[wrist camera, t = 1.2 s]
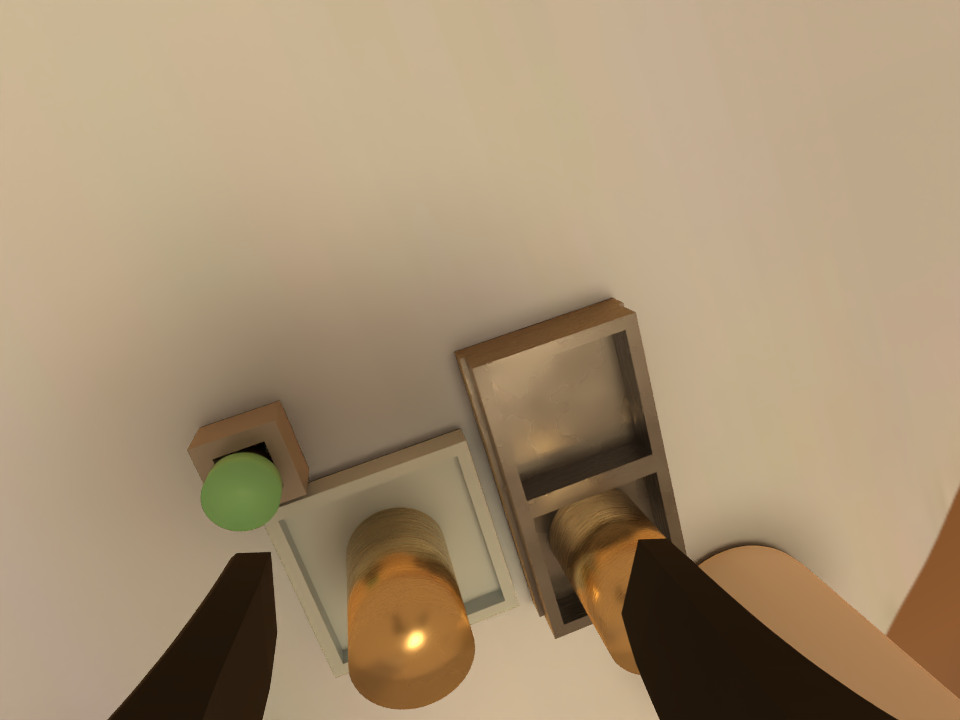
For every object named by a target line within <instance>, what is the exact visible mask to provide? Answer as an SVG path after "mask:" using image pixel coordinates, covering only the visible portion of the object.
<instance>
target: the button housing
mask: <svg viewBox="0 0 960 720" xmlns="http://www.w3.org/2000/svg"><path fill="white" fill-rule="evenodd" d="M261 442H265V444H266V446H267V449H268V451H269V453H270V455H271V458H272V460H273V462H274V465H275V466H276V468H277V469H278V470H279V472H280V475H281V477H282V483H283V488H282V494H281V500H280V504H281V503H284V502H287V501H289V500H292V499H295V498H298V497H301V496H303V495H306V494H307V487H308V477H309V468H308V466H307V463H306V461H305V459H304V456H303V454H302V452H301V449H300V447H299V445H298V442H297V440H296V437H295V435H294V433H293V430H292V428H291V426H290V423H289V421H288V418H287V416H286V414H285V411H284V409H283V407H282V404H281V402H280V401H277V402H274V403H271V404H269V405H266V406H263V407H260V408H257V409H254V410H251V411H248V412H245V413H242V414H239V415H236V416H233V417H230V418H227V419H224V420H221V421H218V422H215V423H213V424H210V425H207V426H204V427H201V428H199V430H198V431H197V433H196V435H195V437H194V439H193V440H192V442H191V444H190V446H189V448H188V449H187V451H188V453H189V455H190V457H191V459H192V461H193V463H194V465H195V467H196V469H197V471H198V473H199V475H200V477H201V480H202V482H203V484H204V483H205V480H206V478H207V476H208V473H209V472H210V470H211V468H212V467H213V466H214V465H215V464H216V463H217V462H218V461H219V460H221V459H222V458H224V457H226V456H229V455H231V454H230V453H232V452H235V451H238V450H241V449H244V448H247V447H250V446H252V445H255V444H258V443H261Z"/></svg>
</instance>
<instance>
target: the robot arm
mask: <svg viewBox="0 0 960 720" xmlns="http://www.w3.org/2000/svg"><path fill="white" fill-rule="evenodd" d="M621 615H622V618H623V622H624V625H625V629H626V633H627V636H628V640H629V643H630V646H631V650H632V653H633V656H634V659H635V662H636V665H637V668H638V670H639V672H640V675H641V677H642V680H643V682H644V684H645V687H646V689H647V691H648V694H649V696H650V698H651V701H652V703H653V705H654V708H655V710H656V712H657V714H658V717H659V719H660V720H898V719H896V718H895V717H893V716H891V715H890V714H888V713H886V712H885V711H883V710H881V709H880V708H878V707H877V706H875V705H874V704H872V703H871V702H869V701H867V700H866V699H864V698H863V697H861V696H860V695H858V694H857V693H855V692H854V691H852V690H851V689H849V688H848V687H847V686H845V685H844V684H842V683H841V682H839V681H838V680H837V679H835V678H834V677H832V676H831V675H829V674H828V673H827V672H825V671H824V670H822V669H821V668H819V667H818V666H817V665H815V664H814V663H813V662H811V661H810V660H809V659H807V658H806V657H805V656H803V655H802V654H801V653H799V652H798V651H797V650H796V649H794V648H793V647H792V646H791V645H789V644H788V643H787V642H785V641H784V640H783V639H782V638H780V637H779V636H778V635H777V634H775V633H774V632H773V631H772V630H770V629H769V628H768V627H767V626H766V625H764V624H763V623H762V622H761V621H760V620H758V619H757V618H756V617H755V616H754V615H752V614H751V613H750V612H749V611H748V610H747V609H745V608H744V607H743V606H742V605H741V604H740V603H739V602H737V601H736V600H735V599H734V598H733V597H732V596H731V595H729V594H728V593H727V592H726V591H725V590H724V589H723V588H722V587H720V586H719V585H718V584H717V583H716V582H715V581H714V580H713V579H712V578H710V577H709V576H708V575H707V574H706V573H705V572H704V571H703V570H702V569H701V568H699V567H698V566H697V565H696V564H695V563H694V562H693V561H692V560H691V559H690V558H688V557H687V556H686V555H685V554H684V553H683V552H682V551H681V550H680V549H678V548H677V547H676V546H675V545H674V544H673V543H672V542H670V541H669V540H668V539H667V538H663V539H638V543H637V548H636V552H635V556H634V561H633V565H632V569H631V574H630V578H629V582H628V587H627V591H626V595H625V600H624V604H623V608H622V613H621ZM276 638H277V624H276V611H275V598H274V586H273V573H272V561H271V552H260V553H236V554H235V555H234V556H233V557H232V558H231V559H230V560H229V562H228V564H227V565H226V567H225V569H224V570H223V572H222V573H221V575H220V576H219V578H218V580H217V581H216V583H215V584H214V586H213V587H212V589H211V590H210V592H209V593H208V595H207V596H206V597H205V599H204V600H203V602H202V603H201V605H200V606H199V607H198V609H197V610H196V612H195V613H194V614H193V616H192V617H191V619H190V620H189V621H188V623H187V624H186V625H185V627H184V628H183V629H182V631H181V632H180V633H179V635H178V636H177V637H176V639H175V640H174V641H173V643H172V644H171V645H170V647H169V648H168V649H167V650H166V652H165V653H164V654H163V655H162V657H161V658H160V659H159V660H158V662H157V663H156V664H155V665H154V666H153V668H152V669H151V670H150V671H149V672H148V674H147V675H146V676H145V677H144V678H143V680H142V681H141V682H140V683H139V684H138V686H137V687H136V688H135V689H134V690H133V692H132V693H131V694H130V695H129V696H128V697H127V699H126V700H125V701H124V702H123V703H122V704H121V705H120V706H119V708H118V709H117V710H116V711H115V712H114V713H113V714H112V715H111V716H110V718H109V719H108V720H262V719H263V715H264V711H265V706H266V702H267V698H268V694H269V689H270V683H271V676H272V669H273V661H274V654H275V646H276Z"/></svg>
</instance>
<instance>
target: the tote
mask: <svg viewBox="0 0 960 720" xmlns="http://www.w3.org/2000/svg"><path fill="white" fill-rule="evenodd" d="M398 507H404V508H412V509H416V510H419V511H421V512H423V513H425V514H427V515H429V516H430V517H431V518H432V519H434V520H435V521H436V523H437V524H438V525H439V526H440V528H441V530H442V532H443V534H444V537H445V541H446V544H447V548H448V551H449V555H450V558H451V562H452V565H453V568H454V572H455V575H456V579H457V582H458V586H459V589H460V593H461V596H462V599H463V603H464V606H465V610H466V613H467V617H468V620H469V623H470V625H472V624H474V623H477V622H479V621H482V620H485V619H487V618H490V617H492V616H495V615H497V614H500V613H502V612H505V611H507V610H510V609H512V608H515V607H518V606H519V603H518V600H517V597H516V593H515V590H514V587H513V584H512V581H511V578H510V575H509V572H508V569H507V566H506V563H505V560H504V556H503V553H502V550H501V547H500V544H499V541H498V538H497V535H496V532H495V529H494V526H493V522H492V519H491V516H490V513H489V510H488V507H487V504H486V501H485V498H484V495H483V492H482V488H481V485H480V482H479V479H478V476H477V473H476V470H475V467H474V464H473V461H472V458H471V455H470V451H469V448H468V445H467V442H466V440H465V437H464V435H463V433H462V431H461V429H458V430H455V431H453V432H450V433H447V434H444V435H441V436H439V437H436V438H433V439H430V440H427V441H425V442H422V443H419V444H416V445H413V446H411V447H408V448H405V449H402V450H399V451H397V452H394V453H391V454H388V455H385V456H382V457H380V458H377V459H374V460H371V461H368V462H366V463H363V464H360V465H357V466H354V467H352V468H349V469H346V470H343V471H340V472H338V473H335V474H332V475H329V476H326V477H323V478H321V479H318V480H315V481H312V482H309V483H308V487H307V494H306V495H303V496H301V497H298V498H295V499H292V500H289V501H287V502H284V503H281V504H279V507H278V510H277V512H276V513H275V515H274V516H273V517H272V518H271V519H270V520H269V521H268V522H267V523H266V524H264V525H265V527H266V530H267V532H268V534H269V536H270V538H271V540H272V543H273V545H274V547H275V549H276V551H277V553H278V555H279V558H280V560H281V562H282V564H283V566H284V568H285V571H286V573H287V575H288V577H289V579H290V581H291V583H292V586H293V588H294V590H295V592H296V594H297V596H298V599H299V601H300V603H301V605H302V607H303V609H304V612H305V614H306V616H307V618H308V620H309V622H310V624H311V627H312V629H313V631H314V633H315V635H316V637H317V640H318V642H319V644H320V646H321V648H322V650H323V653H324V655H325V657H326V659H327V661H328V663H329V665H330V668H331V670H332V672H333V674H334V676H335V678H337V677H340V676H342V675H345V674H347V673H349V669H348V620H347V565H346V552H347V546H348V542H349V540H350V538H351V535H352V534H353V532H354V531H355V529H356V528H357V527H358V526H359V525H360V524H361V523H362V522H363V521H364V520H365V519H367V518H368V517H370V516H371V515H373V514H375V513H377V512H379V511H382V510H385V509H390V508H398Z"/></svg>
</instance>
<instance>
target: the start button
mask: <svg viewBox="0 0 960 720" xmlns="http://www.w3.org/2000/svg"><path fill="white" fill-rule="evenodd" d="M282 488H283V483H282V477H281V475H280V472H279V470H278V469H277V468H276V466H275V465H274V464H273V463H272V462H271V461H270V457H269V455H268V453H267V451H266V450H265V449H263V448H262V447H259V446H256V445H252V446H250V447H247V448H244V449H241V450H239V451H238V452H237V453H235V454H231V455H229V456H226V457H224V458H222V459H221V460H219V461H218V462H217V463H216V464H215V465H214V466H213V467H212V468H211V470H210V472H209V473H208V476H207V478H206V480H205V483H204V485H203V487H202V491H201V504H202V508H203V510H204V512H205V514H206V515H207V517H208V518H209V519H210V520H211V521H212V522H213V523H215V524H216V525H218V526H220V527H222V528H224V529H227V530H231V531H249V530H253V529H256V528H259V527H261V526H262V525H264V524H266V523H267V522H268V521H269V520H270V519H271V518H272V517H273V516H274V515H275V513H276V512H277V510H278V507H279V504H280V500H281V494H282Z"/></svg>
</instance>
